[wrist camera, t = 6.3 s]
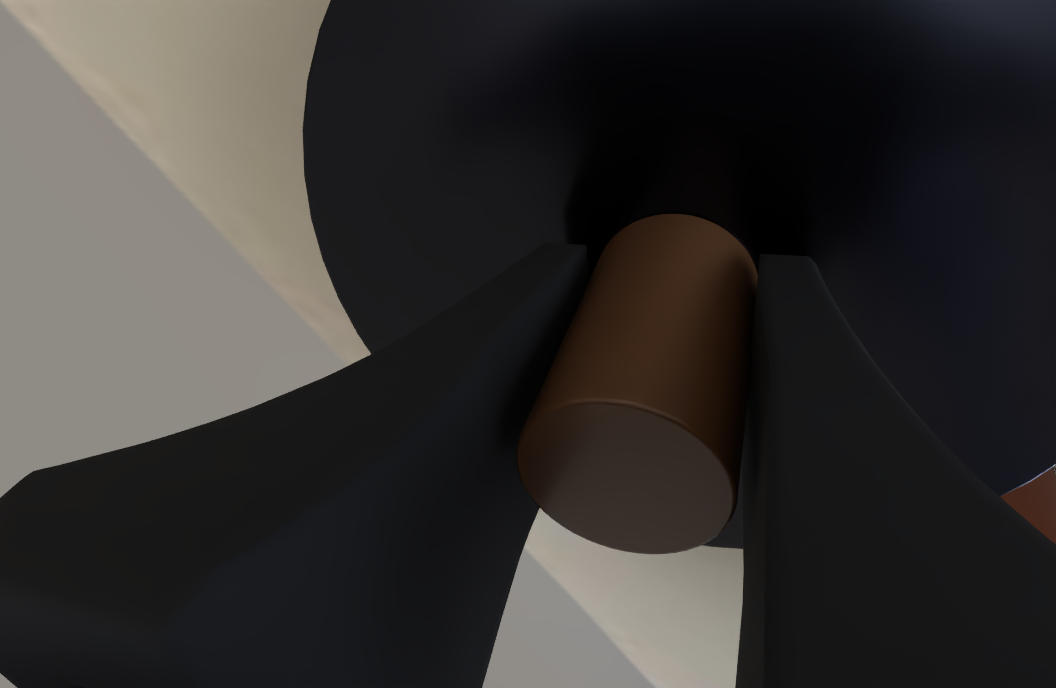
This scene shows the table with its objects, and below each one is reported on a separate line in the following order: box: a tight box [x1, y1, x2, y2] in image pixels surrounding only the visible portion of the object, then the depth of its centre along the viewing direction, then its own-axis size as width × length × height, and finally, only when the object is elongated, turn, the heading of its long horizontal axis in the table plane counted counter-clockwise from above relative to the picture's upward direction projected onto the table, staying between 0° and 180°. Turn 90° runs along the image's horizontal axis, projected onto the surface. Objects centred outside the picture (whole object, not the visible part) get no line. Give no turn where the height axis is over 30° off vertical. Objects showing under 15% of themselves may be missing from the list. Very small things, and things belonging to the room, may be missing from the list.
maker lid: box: [303, 0, 1056, 554], centre depth 9 cm, size 13×13×5 cm
